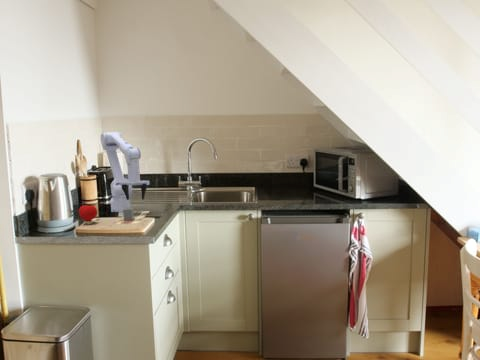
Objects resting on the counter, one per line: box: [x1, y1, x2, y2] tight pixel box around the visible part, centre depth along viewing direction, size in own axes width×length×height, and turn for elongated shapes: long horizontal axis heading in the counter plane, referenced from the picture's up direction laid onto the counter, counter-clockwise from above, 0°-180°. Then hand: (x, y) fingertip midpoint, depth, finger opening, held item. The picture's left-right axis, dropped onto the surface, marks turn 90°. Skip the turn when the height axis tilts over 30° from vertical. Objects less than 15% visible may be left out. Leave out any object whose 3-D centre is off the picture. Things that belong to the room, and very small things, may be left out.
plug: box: [122, 207, 135, 221], centre depth 211 cm, size 4×4×7 cm
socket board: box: [112, 210, 150, 225], centre depth 217 cm, size 12×26×2 cm, turn 0°
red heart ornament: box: [78, 204, 98, 225], centre depth 207 cm, size 9×7×10 cm
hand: (135, 199), depth 221 cm, fingers open, 7 cm apart
